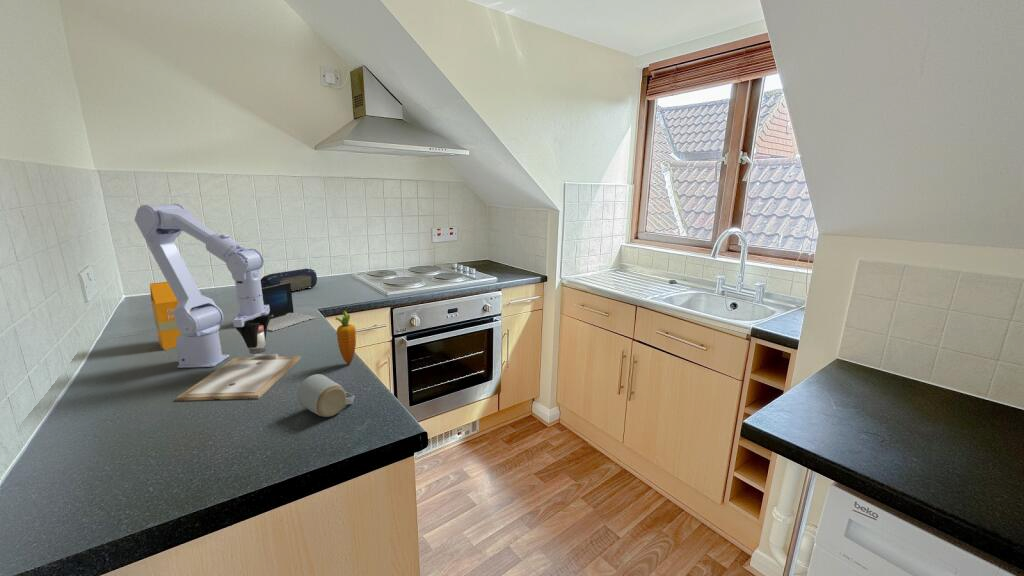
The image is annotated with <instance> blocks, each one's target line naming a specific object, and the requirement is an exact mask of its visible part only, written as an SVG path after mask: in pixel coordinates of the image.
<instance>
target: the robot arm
mask: <svg viewBox="0 0 1024 576" xmlns="http://www.w3.org/2000/svg"><path fill="white" fill-rule="evenodd" d="M134 221H135V224H136V225H137V227H138V229H139V231H140V233H141V234H142V237H143V238H144V240H145V243H146V245H147V247H148V250H150V253H151V255H152V256H153V258H154V260H155V262H156V264H157V265H158V267H159V269H160V271H161V273H162V276H164V278H165V280H166V282H168V284H169V286H170V288H171V290H172V291H173V293H174V295H175V297H176V299H177V301H178V302H179V303H178V305H177V306H176V308H175V309H174V311H173V315H174V317H175V320H176V326H177V328H178V330H179V331H180V332H181V334H180V335H179V336H178V337H177V340H176V348H175V349H176V354H177V359H178V365H177V368H179V369H181V368H184V369H185V368H210V367H211V368H213V367H215V366H217V365H218V364H220V363H221V362H223V361H224V360H226V359H227V358H229V357H230V354H223V353H222V346H221V339H220V332H219V329H221V324H222V323H223V322H224V312H223V311H222V309H221V308H220V307H219V306H218V305H216V303H215V301H214V300H213V299H212V298H211V297H208V296H206V295H202V292H201V291H200V289H199V287H198V285H197V283H196V282H195V280H194V277H193V276H192V274H191V272H190V270H189V269H188V267H187V265H186V263H185V261H184V259H183V257H182V255H181V254H180V251H179V250H178V247H177V245H176V244H175V240H176V239H177V238H178V237H179V236H180V235H181V233H182V232H184V233H186V234H188V235H190V236H192V237H193V238H195V240H197V241H200V242H201V243H203V244H204V245H205V248H206V251H207V252H209V253H210V254H211V255H213V256H215V257H216V258H218V259H220V260H221V261H222V262H224V263H225V265H226V268H227V270H228V271H229V272H230V273H231V277H232V279H233V281H234V284H235V292H236V298H237V306H238V314H237V316H236V317H235V318H234V319H232V323H233V328H235V330H236V331H237V332H238V333H239V335H241V337H242V339H243V342H244V343H245V345H246V347H247V348H248V349H249V348H256V347H257V333H258V328H259V325H260V324H261V325H263V327H264V336H265V340H267V332H268V330H267V327H268V324H269V321H270V320H271V315H270V314H269V311H270V309H269V305H264V303H263V296H262V288H261V273H260V269H262V268H263V265H264V258H263V255H262V254H261V253H260V252H259V251H258V250H257V249H256V248H247V247H245V246H244V245H243V244H239V242H236V241H235V240H233V239H232V238H231V237H230V235H229V234H227V233H222V232H221V233H220V232H218V233H215V232H214V231H212V230H211V229H210V228H208V227H207V226H206V225H204V224H203V223H202V222H201V221H199V220H198V219H197V218H196V217H194V216H193V215H192V211H191V210H190V209H188V208H186V207H185V206H184V205H182V204H179V203H174V204H152V205H151V204H142V205H140V206H139V207H138V208H137V210H136V213H135V217H134ZM192 309H193V310H192ZM190 310H192V311H190Z"/></svg>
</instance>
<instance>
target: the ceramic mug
mask: <svg viewBox="0 0 1024 576" xmlns="http://www.w3.org/2000/svg"><path fill="white" fill-rule="evenodd" d="M296 397H297V402H298V403H299V405H300V406H302V408H305V409H306V410H308V411H310V412H312V413H313V414H315V415H316V416H319V417H323V418H331V417H333V416H336V415H337V414H338V413H339V412H341V411H342V409H343V408H344V406H345V405H352V404H353V403H354V400H355V395H354V394H352V393H350V392H347V391H346V390H345V388H343V386H341V385H340V384H339V383H337V382H336V381H334V380H332V379H330V378H329V377H327V376H326V375H324V374H320V373H316V374H312V375H309V376H307V378H305V379H303V381H302V382H301V383H300V385H299V387H298V389H297V393H296Z"/></svg>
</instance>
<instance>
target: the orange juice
mask: <svg viewBox="0 0 1024 576" xmlns="http://www.w3.org/2000/svg"><path fill="white" fill-rule="evenodd" d="M149 289H150V301H151V307H152V311H153V312H152V313H153V317H154V318H153V319H154V325H155V328H156V334H157V338H158V344H159V346H160V345H161V346H162V347H161V346H160V347H161V349H162V348H163V349H164V350H163V349H162V350H163V351H166V350H165V349H168V350H171V349H170V348H173V349H175V348H174V347H176V340H177V337H178V336H179V335H180V334H181V332H180V331H179V330H178V328H177V326H176V320H175V317H174V315H173V311H174V309H175V308H176V306H177V305H178V303H179V302H178V301H177V299H176V297H175V295H174V293H173V291H172V290H171V288H170V286H169V284H168V282H167V281H162V282H161V281H160V282H154V283H153V282H152V283H150V284H149ZM192 310H194V309H192ZM192 310H190V311H192Z"/></svg>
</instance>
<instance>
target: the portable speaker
mask: <svg viewBox="0 0 1024 576" xmlns="http://www.w3.org/2000/svg"><path fill="white" fill-rule="evenodd" d="M260 280H261V288H266V287H270V286H275V285H280V284H284V283H289V282H290V284H291V291H293V290H298V289H304V288H309V287H313V288H314V287H315V286H317V282H318V276H317V273H316V271H315V270H314V269H312V268H302V269H301V268H300V269H294V270H288V271H281V272H275V273H269V274H267V275H264V276H263V277H261V278H260Z"/></svg>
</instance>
